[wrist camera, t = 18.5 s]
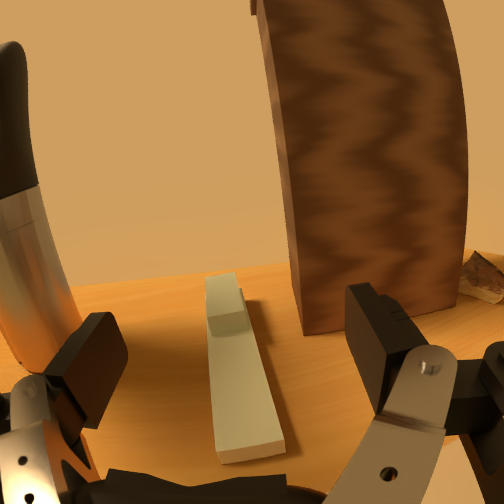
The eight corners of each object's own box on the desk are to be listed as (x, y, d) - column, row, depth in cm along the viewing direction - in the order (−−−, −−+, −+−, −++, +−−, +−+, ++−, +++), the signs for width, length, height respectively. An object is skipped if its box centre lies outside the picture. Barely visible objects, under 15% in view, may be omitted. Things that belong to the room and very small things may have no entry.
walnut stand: (298, 339, 27) (248, -41, 15) (287, 283, 37) (250, 8, 25) (461, 307, 26) (442, -23, 14) (416, 264, 36) (396, 10, 24)
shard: (473, 260, 35) (474, 248, 34) (519, 273, 29) (522, 260, 28) (448, 293, 29) (450, 279, 29) (506, 312, 23) (510, 297, 23)
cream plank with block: (222, 466, 16) (207, 433, 14) (208, 310, 34) (201, 278, 33) (286, 455, 16) (281, 419, 15) (244, 303, 35) (238, 271, 33)
